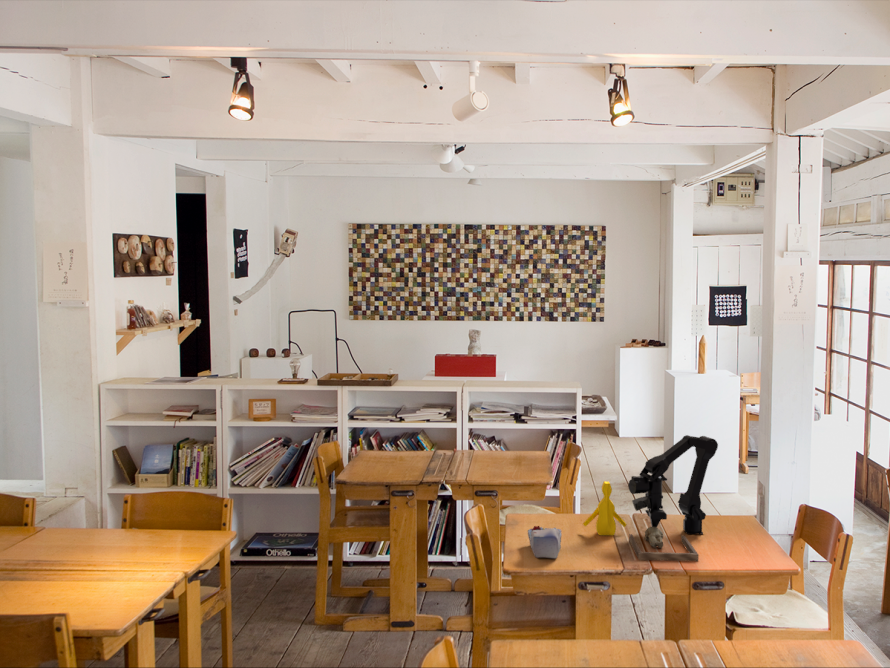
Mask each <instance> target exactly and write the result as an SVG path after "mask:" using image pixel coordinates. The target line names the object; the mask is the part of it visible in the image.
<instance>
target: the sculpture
mask: <svg viewBox="0 0 890 668" xmlns="http://www.w3.org/2000/svg"><path fill="white" fill-rule="evenodd" d="M663 539H664V533H663V531H662V530H661V529H660V528H659V527H658V526H657V527H652V526H648V527H647V528H646V529H645V533H644V540H645V542H649V545H650V546H651V547H652V548H659V549H662V548H663V547H664V541H663Z"/></svg>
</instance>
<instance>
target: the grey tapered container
mask: <svg viewBox="0 0 890 668" xmlns="http://www.w3.org/2000/svg"><path fill="white" fill-rule="evenodd" d="M527 536H528V539H529V545H530V547H531V550H532V553H533V556H534V557H535V558H539V559H540V558H547V559H557V558H558V556H559V554H560V551H561V542H562V529H560V528H557V527H553V528H552V527H542V526H540V525H537V526H536V525H535V526H533V528H529V529H528V530H527Z"/></svg>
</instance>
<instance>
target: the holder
mask: <svg viewBox="0 0 890 668" xmlns="http://www.w3.org/2000/svg"><path fill="white" fill-rule="evenodd" d="M680 537H681V538H680V539H681V540H680V541H681V544H683V546H684V548H685V547H686V548H685V549H686V551H687V552H658V551H657V552H656V551H655V552H652V551H651V552H650V551H642V550H641V548H640V546H639V544H638V543H637V541H636V539H635V537H634V535H633V533H632V534H631V533H630V534H629V535H628V541H629V543H630V545H631V547H632V549H633V551H634V553H635V556H636V557H637V560H638V561H675V562H677V561H680V562H681V561H682V562H699V553H698V551H696V549H695V548H694V546H693V545H692V543H691V542H690V541H689V539H688V538H687V537H686V535H684V534H683V535H682V534H681V536H680Z"/></svg>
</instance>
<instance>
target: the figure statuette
mask: <svg viewBox="0 0 890 668" xmlns="http://www.w3.org/2000/svg"><path fill="white" fill-rule="evenodd" d="M601 492H602V494H603V497H602V498H601V499H600V501H599V503H598V504H597V507H596V508H595V510H594V511H593V512H592V513H591V515H590V516H589V517H587V518H586V520H584V522H583V523H582V525H583V526H584V527H588V525H589V524H590V523H591V522H592V521H593V520H594V519H595V518H597V519H596V522H595V530H596V532H597V534H598V535H599V536H614V535H615V534H616V530H617V524H616V521H617V522H618V523H619V524H620V525H622V527H624V528H626V526H627V523H626V522H625V521H624V520H623V518H622V517H621V516H620V515H619V514H618V513H617V512H616V508H615V504H614V502H613V501H612V500H611V498H610V496H611V494H612V492H613V489H612V484H611V483H610V481H603V483H602V485H601ZM615 520H616V521H615Z"/></svg>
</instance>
